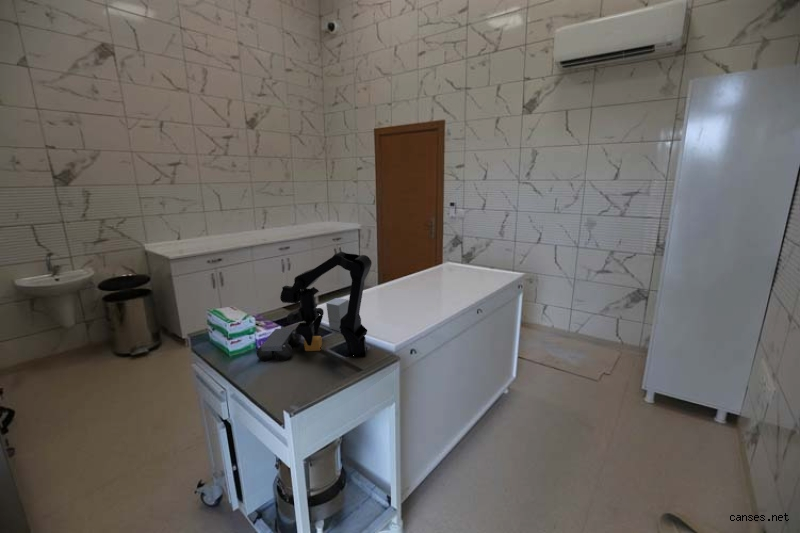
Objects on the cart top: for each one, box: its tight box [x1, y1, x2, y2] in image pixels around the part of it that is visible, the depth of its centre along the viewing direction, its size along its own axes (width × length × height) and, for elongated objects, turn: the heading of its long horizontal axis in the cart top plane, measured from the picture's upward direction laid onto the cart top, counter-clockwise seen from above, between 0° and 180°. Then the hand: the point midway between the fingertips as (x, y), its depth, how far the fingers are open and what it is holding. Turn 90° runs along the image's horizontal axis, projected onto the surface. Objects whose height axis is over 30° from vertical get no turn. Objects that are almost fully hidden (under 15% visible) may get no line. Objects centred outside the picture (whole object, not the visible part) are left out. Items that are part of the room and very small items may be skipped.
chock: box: [303, 335, 323, 352], centre depth 148 cm, size 6×4×4 cm, turn 87°
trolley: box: [256, 327, 302, 362], centre depth 146 cm, size 13×15×6 cm
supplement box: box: [326, 297, 349, 332], centre depth 164 cm, size 7×7×13 cm
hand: (312, 339), depth 147 cm, fingers open, 9 cm apart
